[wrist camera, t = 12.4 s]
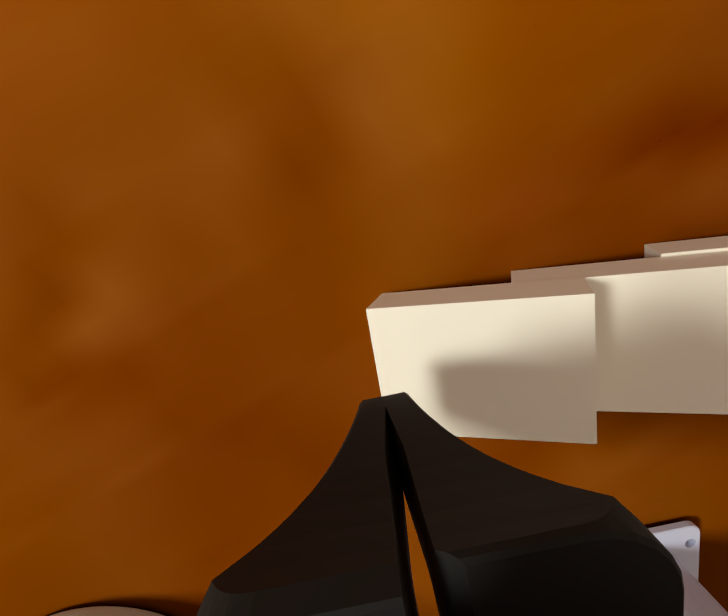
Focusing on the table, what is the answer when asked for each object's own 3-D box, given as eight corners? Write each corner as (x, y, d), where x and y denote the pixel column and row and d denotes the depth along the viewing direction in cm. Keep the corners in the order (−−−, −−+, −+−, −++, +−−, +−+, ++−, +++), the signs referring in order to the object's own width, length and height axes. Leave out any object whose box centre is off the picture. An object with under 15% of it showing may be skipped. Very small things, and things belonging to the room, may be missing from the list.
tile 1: (400, 404, 17) (585, 410, 14) (387, 432, 15) (596, 444, 12) (382, 293, 15) (582, 276, 13) (365, 309, 14) (594, 293, 11)
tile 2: (519, 384, 17) (725, 384, 14) (520, 409, 15) (756, 414, 13) (510, 270, 16) (735, 249, 13) (511, 283, 14) (772, 261, 11)
